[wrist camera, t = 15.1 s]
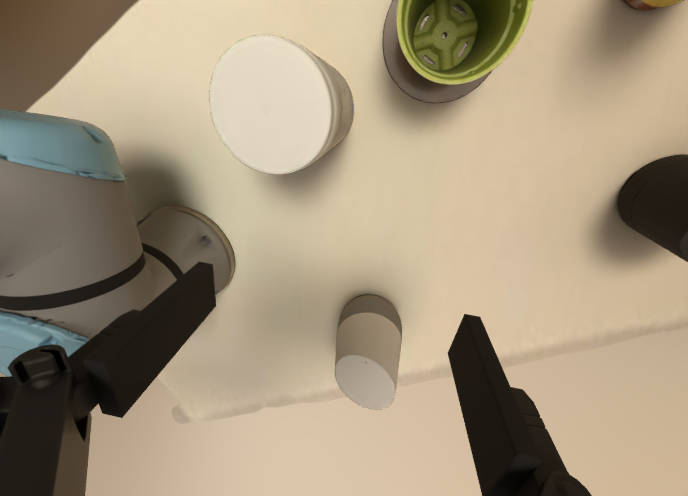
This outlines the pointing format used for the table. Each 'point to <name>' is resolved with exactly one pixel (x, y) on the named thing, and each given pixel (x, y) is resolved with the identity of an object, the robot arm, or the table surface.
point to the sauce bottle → (651, 3)
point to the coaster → (408, 76)
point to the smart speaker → (368, 351)
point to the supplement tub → (278, 104)
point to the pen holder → (659, 203)
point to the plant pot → (459, 36)
